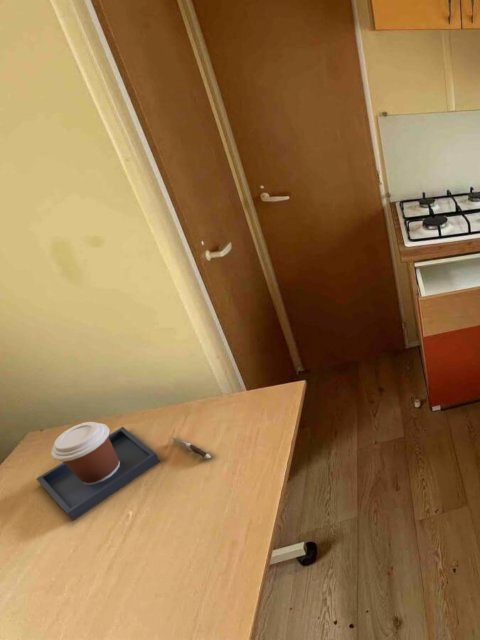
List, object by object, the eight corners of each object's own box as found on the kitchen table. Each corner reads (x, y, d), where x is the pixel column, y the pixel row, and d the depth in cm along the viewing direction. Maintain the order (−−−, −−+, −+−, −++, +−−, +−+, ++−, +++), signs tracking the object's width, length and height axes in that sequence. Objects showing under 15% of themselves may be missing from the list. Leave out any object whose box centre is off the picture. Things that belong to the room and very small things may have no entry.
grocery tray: (42, 486, 92) (35, 478, 91) (127, 433, 104) (122, 426, 103) (73, 521, 85) (67, 513, 84) (160, 461, 97) (155, 453, 96)
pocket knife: (212, 458, 98) (210, 452, 97) (209, 461, 97) (206, 455, 97) (175, 438, 103) (172, 433, 102) (171, 441, 102) (168, 436, 101)
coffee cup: (89, 497, 89) (61, 459, 84) (64, 482, 92) (36, 444, 87) (137, 461, 97) (114, 425, 91) (112, 448, 100) (89, 412, 94)
